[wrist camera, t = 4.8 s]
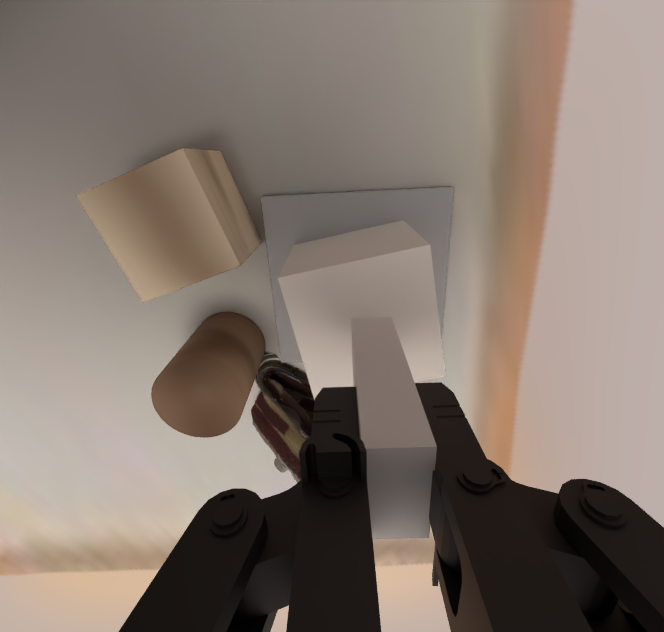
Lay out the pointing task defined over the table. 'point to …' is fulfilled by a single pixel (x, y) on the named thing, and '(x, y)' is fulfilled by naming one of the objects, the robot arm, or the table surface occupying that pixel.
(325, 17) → the table surface
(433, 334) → the plain block
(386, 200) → the mat
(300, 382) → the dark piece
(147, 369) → the table surface
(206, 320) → the walnut cylinder
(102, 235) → the beech cube
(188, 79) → the table surface
